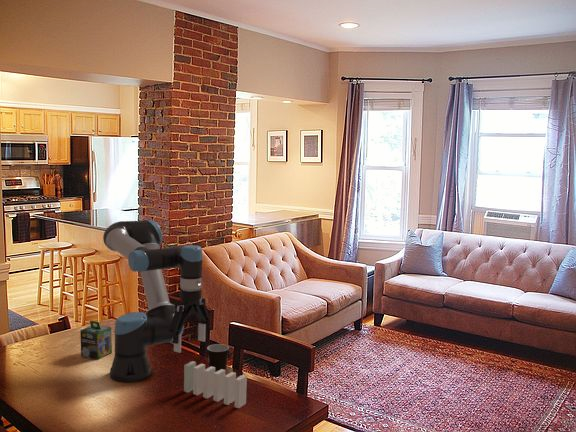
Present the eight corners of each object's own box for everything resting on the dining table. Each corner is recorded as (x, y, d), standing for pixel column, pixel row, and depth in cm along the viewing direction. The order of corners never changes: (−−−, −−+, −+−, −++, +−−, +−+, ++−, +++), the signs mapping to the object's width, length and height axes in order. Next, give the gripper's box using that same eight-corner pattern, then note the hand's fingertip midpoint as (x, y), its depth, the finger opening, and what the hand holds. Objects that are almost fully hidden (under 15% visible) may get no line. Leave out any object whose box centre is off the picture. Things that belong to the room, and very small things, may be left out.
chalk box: (112, 352, 227) (112, 319, 226) (97, 360, 219) (97, 325, 217) (95, 349, 231) (95, 316, 229) (79, 356, 222) (79, 322, 220)
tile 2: (193, 394, 190) (193, 367, 189) (200, 389, 194) (201, 363, 193) (197, 395, 189) (197, 368, 188) (204, 391, 193) (205, 364, 192)
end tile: (183, 391, 192) (184, 364, 191) (191, 387, 196) (192, 361, 195) (187, 392, 191) (188, 365, 190) (195, 388, 195) (196, 362, 194)
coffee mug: (224, 377, 206) (225, 352, 205) (203, 375, 207) (203, 350, 206) (233, 366, 217) (234, 342, 216) (213, 364, 219) (214, 340, 218)
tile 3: (203, 397, 188) (203, 370, 187) (210, 392, 192) (211, 366, 191) (207, 398, 187) (207, 371, 186) (214, 394, 191) (215, 367, 190)
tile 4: (213, 400, 186) (213, 373, 185) (220, 395, 190) (221, 369, 189) (217, 401, 185) (218, 374, 184) (224, 397, 189) (225, 370, 188)
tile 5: (223, 403, 184) (224, 376, 183) (231, 399, 188) (231, 371, 187) (228, 405, 183) (228, 377, 182) (235, 400, 187) (236, 372, 186)
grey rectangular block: (234, 407, 182) (235, 379, 181) (241, 402, 185) (242, 374, 184) (238, 408, 181) (239, 380, 180) (246, 403, 185) (246, 375, 184)
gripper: (175, 297, 177) (174, 358, 180) (220, 283, 199) (218, 338, 201) (158, 294, 181) (158, 354, 183) (204, 280, 203) (203, 334, 205)
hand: (189, 346), depth 192 cm, fingers open, 13 cm apart
